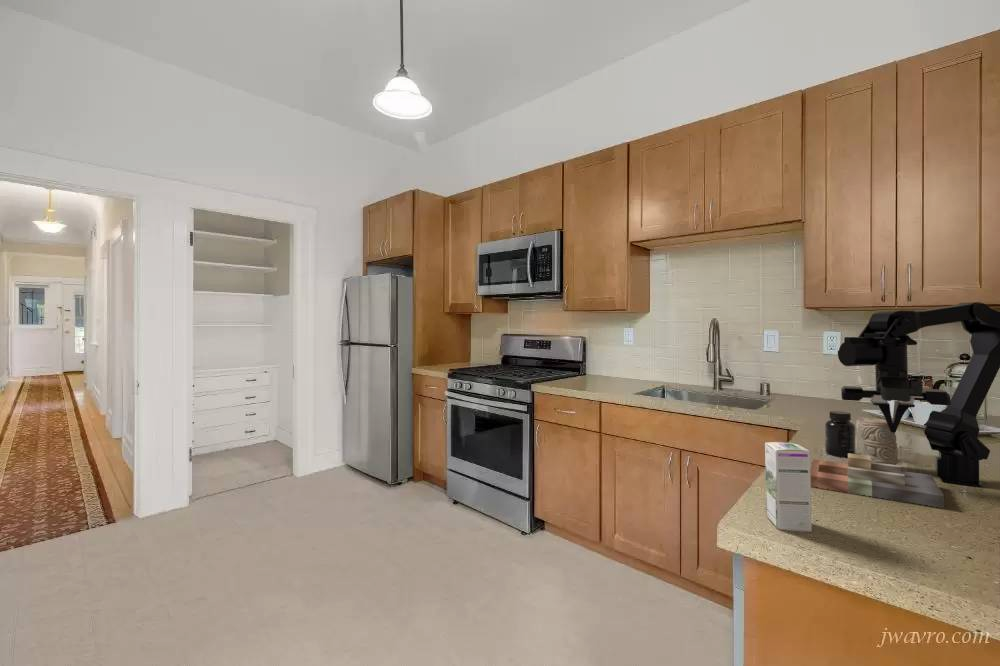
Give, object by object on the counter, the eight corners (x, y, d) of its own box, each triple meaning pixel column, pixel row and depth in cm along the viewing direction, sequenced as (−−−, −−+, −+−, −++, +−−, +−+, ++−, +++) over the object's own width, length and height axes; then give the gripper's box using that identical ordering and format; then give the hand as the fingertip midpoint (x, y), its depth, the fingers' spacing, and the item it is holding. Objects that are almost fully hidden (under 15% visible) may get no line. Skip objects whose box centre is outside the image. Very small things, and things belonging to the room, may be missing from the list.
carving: (866, 461, 122) (865, 416, 122) (902, 468, 115) (902, 421, 115) (856, 465, 118) (855, 419, 118) (892, 472, 112) (892, 424, 112)
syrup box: (813, 532, 80) (812, 450, 80) (776, 530, 81) (775, 448, 81) (798, 519, 85) (798, 442, 85) (764, 517, 87) (763, 441, 86)
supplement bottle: (819, 451, 131) (819, 410, 131) (841, 451, 132) (841, 409, 132) (838, 458, 124) (838, 414, 124) (862, 457, 125) (861, 414, 125)
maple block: (870, 473, 104) (869, 455, 104) (871, 477, 101) (870, 459, 101) (847, 470, 106) (847, 453, 106) (848, 474, 103) (848, 457, 103)
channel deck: (931, 486, 102) (931, 466, 102) (944, 508, 89) (944, 486, 89) (812, 468, 115) (812, 451, 115) (809, 486, 103) (809, 466, 103)
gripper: (842, 367, 104) (844, 435, 104) (956, 369, 93) (957, 444, 93) (840, 363, 113) (841, 425, 113) (943, 364, 102) (945, 433, 103)
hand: (892, 432), depth 105 cm, fingers closed
